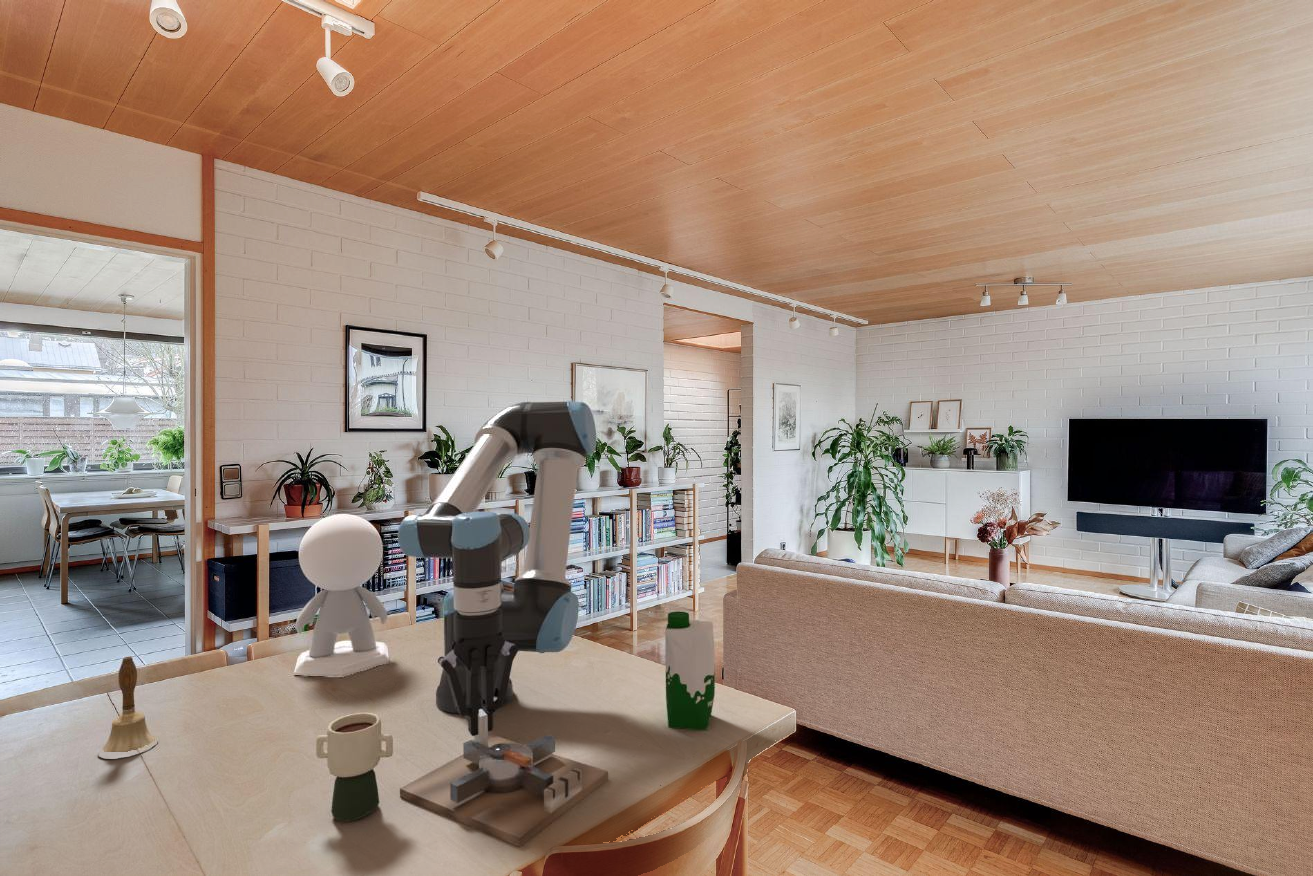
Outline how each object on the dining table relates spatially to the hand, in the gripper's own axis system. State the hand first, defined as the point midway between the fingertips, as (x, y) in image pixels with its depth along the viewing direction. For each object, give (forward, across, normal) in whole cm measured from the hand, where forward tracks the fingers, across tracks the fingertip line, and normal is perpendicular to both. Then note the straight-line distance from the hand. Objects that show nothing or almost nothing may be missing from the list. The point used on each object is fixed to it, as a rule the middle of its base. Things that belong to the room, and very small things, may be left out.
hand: (481, 752), depth 110 cm
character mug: (+2, -20, -3) cm, 20 cm away
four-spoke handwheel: (+1, +1, -9) cm, 9 cm away
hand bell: (+3, -49, +41) cm, 64 cm away
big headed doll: (+4, -10, +68) cm, 69 cm away
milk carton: (+3, +38, -6) cm, 39 cm away
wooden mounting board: (+2, +1, -9) cm, 9 cm away
